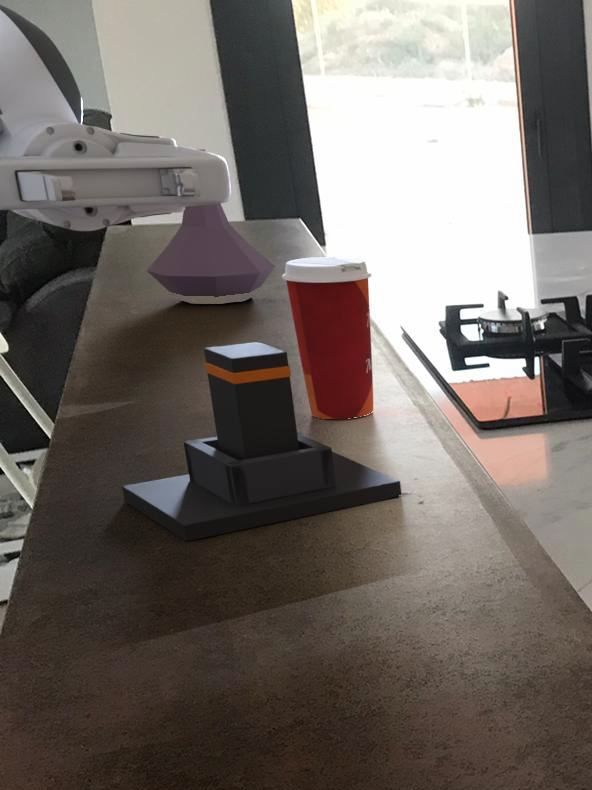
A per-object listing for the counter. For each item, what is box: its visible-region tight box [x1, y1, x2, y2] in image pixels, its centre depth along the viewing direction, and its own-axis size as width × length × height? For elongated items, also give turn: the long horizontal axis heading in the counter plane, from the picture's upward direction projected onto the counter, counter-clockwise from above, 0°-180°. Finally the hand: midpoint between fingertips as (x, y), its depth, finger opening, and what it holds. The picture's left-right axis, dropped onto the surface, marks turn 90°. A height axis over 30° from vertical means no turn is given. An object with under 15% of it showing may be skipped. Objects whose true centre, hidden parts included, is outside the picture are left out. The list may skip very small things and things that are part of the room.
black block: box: [203, 341, 299, 461], centre depth 94 cm, size 4×5×10 cm
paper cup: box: [281, 256, 374, 420], centre depth 119 cm, size 8×8×14 cm
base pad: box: [121, 432, 402, 542], centre depth 96 cm, size 16×12×4 cm
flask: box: [146, 147, 276, 297], centre depth 176 cm, size 16×16×20 cm
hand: (129, 187), depth 101 cm, fingers open, 8 cm apart
